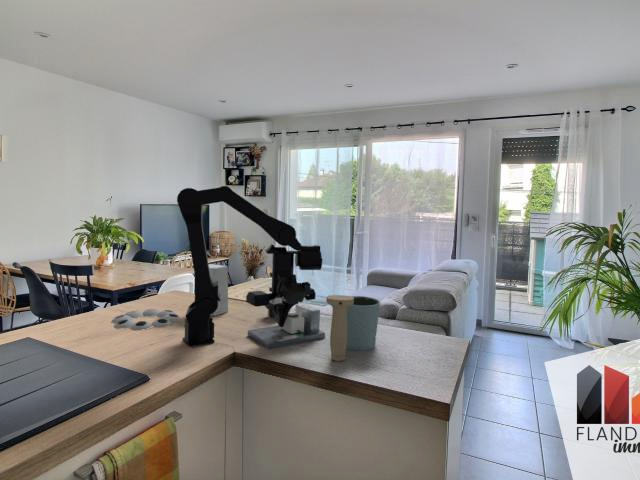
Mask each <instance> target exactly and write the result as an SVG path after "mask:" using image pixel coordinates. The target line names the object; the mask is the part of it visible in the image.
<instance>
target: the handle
mask: <svg viewBox="0 0 640 480" xmlns="http://www.w3.org/2000/svg"><path fill="white" fill-rule="evenodd" d="M353 303H354V297H352V296H351V295H340V294H332V295H327V296H326V304H328V305H330V306H331V308H332V316H331V324H330V333H329V335H330V336H329V337H330V338H329V346H330V358H331V360H332V361H335V362H337V363H338V362H342V361H344V360H345V357H346V356H345V355H346V354H345V353H346V351H347V347H346V345H347V307H349V306H351V305H352V304H353Z"/></svg>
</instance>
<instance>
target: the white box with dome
mask: <svg viewBox="0 0 640 480" xmlns="http://www.w3.org/2000/svg"><path fill="white" fill-rule="evenodd" d="M280 328H281V329H283V330H285V331H287V332H289V333H291V334H294V333H301V334H303V332H304V317H303V316H300V315H299V314H296V313H295V311H292V312H290V311H289V313H288V315H287V318H286V321H285V323H284V326H283V327H280Z"/></svg>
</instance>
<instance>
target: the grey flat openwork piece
mask: <svg viewBox="0 0 640 480" xmlns="http://www.w3.org/2000/svg"><path fill="white" fill-rule="evenodd" d="M142 316H143V317H156V318H158V319H155V320H154V321H152V322H151V323H150V322H149V321H146V320H140V321H137V322H135V321H134V319H139V318H138V317H140V318H143V317H142ZM132 318H134V319H132ZM181 319H182V318H181V317H180V316H179V315H178V314H177V313H176V312H175V311H174V310H170V309H169V310H168V309H164V310H161V311H160V310H159V309H156V308H155V309H154V308H149V309H145V310H144V311H142V312H141V311H138V310H134V311H128V312H126V313H125V314H121V315H117V316H115V317H114V318H112V320H111V321H110V322H113V323H112V324H114V325H113V328H114V327H115V329H118V328H124V329H130V330H132V329H134V330H133V331H143V330H142V329H146V330H148V329H147V328H150V327H152V326H154V327H152V328H166V326H167V327H169V326H172V324H173V323H175V322H179V321H181ZM132 320H133V321H132ZM115 323H116V324H115ZM119 323H121V324H119ZM138 324H141V325H138ZM129 327H131V328H129ZM150 329H151V328H150Z"/></svg>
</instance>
